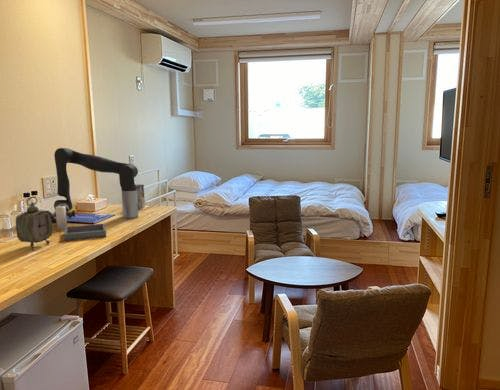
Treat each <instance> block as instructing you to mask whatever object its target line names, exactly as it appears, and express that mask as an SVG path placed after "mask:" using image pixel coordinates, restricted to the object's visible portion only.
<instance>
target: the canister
mask: <svg viewBox="0 0 500 390" xmlns="http://www.w3.org/2000/svg"><path fill="white" fill-rule="evenodd" d="M55 209H56V218H55V219H56V228H57V229H56V230H57V231H65V227H68V220H67V217H66V206H57V207H55V208H54V210H55Z"/></svg>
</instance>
